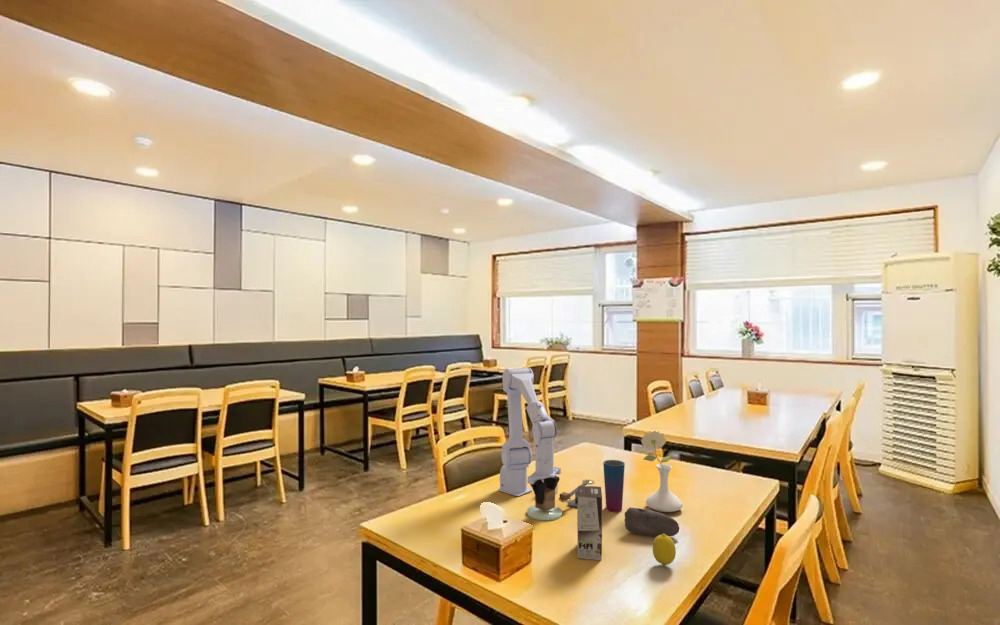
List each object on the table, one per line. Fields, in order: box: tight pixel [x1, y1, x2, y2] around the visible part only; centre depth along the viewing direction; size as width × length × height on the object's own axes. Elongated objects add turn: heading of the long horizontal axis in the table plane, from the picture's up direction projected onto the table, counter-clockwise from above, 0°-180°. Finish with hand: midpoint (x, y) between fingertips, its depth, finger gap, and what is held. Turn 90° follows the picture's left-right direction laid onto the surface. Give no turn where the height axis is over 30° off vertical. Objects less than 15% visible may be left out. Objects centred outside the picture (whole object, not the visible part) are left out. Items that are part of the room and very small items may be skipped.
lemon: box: [652, 534, 677, 567], centre depth 130 cm, size 6×6×8 cm
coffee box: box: [576, 485, 603, 561], centre depth 138 cm, size 9×6×16 cm
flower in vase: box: [640, 430, 684, 513], centre depth 168 cm, size 13×11×25 cm
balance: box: [558, 479, 595, 509], centre depth 172 cm, size 4×18×6 cm, turn 137°
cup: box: [602, 459, 626, 513], centre depth 168 cm, size 7×7×15 cm
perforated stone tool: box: [624, 506, 680, 538], centre depth 148 cm, size 15×5×7 cm, turn 69°
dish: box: [526, 504, 563, 522], centre depth 164 cm, size 11×11×1 cm
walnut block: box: [534, 487, 556, 511], centre depth 164 cm, size 4×4×6 cm
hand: (544, 501), depth 164 cm, fingers closed on walnut block, 4 cm apart
